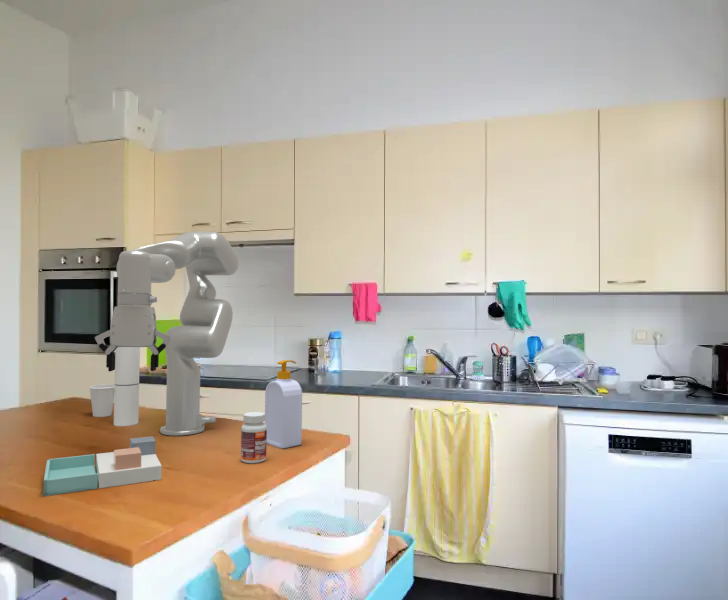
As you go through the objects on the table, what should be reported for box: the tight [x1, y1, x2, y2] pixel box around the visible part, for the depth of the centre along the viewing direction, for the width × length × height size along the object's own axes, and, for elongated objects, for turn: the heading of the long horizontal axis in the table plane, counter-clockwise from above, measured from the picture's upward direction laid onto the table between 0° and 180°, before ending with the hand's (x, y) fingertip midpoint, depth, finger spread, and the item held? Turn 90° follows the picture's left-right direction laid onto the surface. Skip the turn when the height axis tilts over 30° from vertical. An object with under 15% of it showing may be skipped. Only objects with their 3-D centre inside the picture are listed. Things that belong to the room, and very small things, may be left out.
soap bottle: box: [264, 359, 303, 450], centre depth 142 cm, size 9×7×23 cm
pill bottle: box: [240, 411, 267, 464], centre depth 126 cm, size 6×6×11 cm
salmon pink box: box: [113, 447, 141, 470], centre depth 111 cm, size 5×5×3 cm
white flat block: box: [95, 451, 163, 489], centre depth 115 cm, size 12×16×3 cm
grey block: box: [129, 435, 156, 456], centre depth 121 cm, size 5×5×3 cm
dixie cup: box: [88, 383, 115, 418], centre depth 175 cm, size 8×8×10 cm
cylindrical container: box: [113, 347, 141, 427], centre depth 163 cm, size 7×7×25 cm
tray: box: [42, 453, 98, 497], centre depth 110 cm, size 9×16×3 cm, turn 30°
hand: (132, 370), depth 127 cm, fingers open, 9 cm apart
